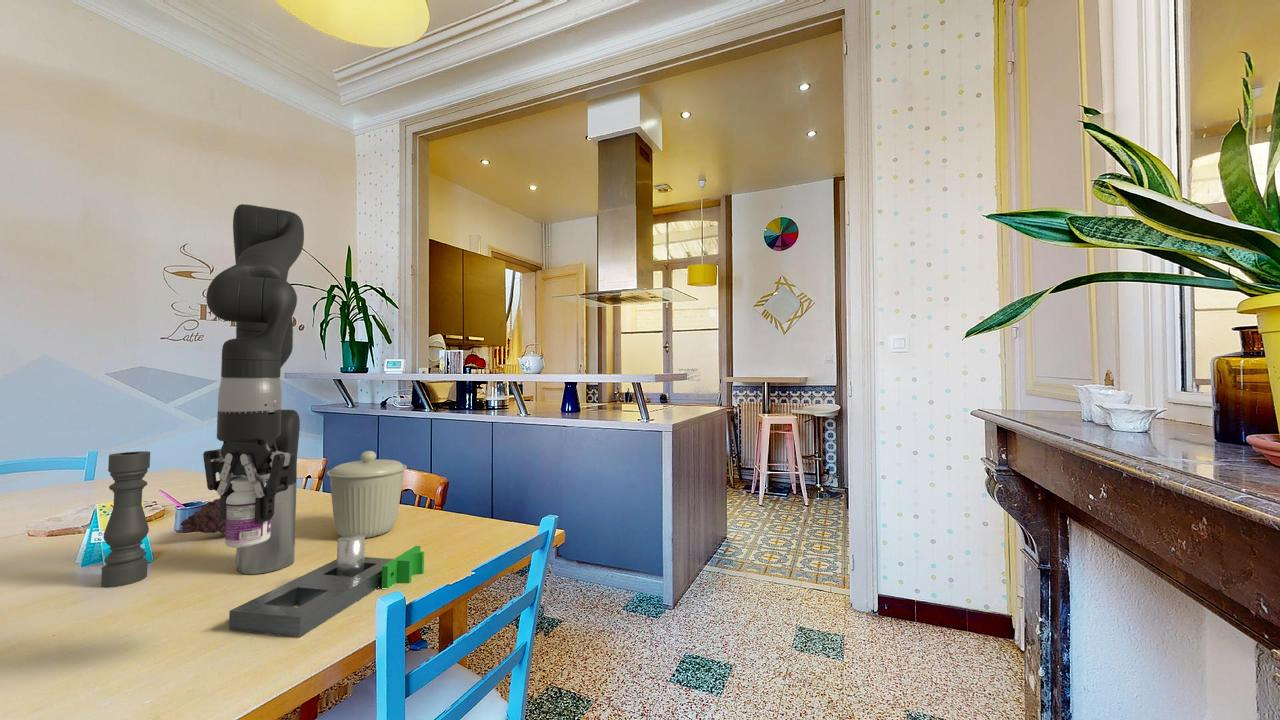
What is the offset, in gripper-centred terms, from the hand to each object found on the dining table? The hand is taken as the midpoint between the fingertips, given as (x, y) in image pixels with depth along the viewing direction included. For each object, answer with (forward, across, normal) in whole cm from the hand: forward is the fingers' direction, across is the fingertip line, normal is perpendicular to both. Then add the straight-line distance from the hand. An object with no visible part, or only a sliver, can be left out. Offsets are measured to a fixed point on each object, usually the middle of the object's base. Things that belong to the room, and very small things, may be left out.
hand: (246, 519), depth 72 cm
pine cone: (+20, -53, +42) cm, 70 cm away
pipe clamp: (+20, +8, +27) cm, 34 cm away
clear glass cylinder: (+19, -1, +22) cm, 29 cm away
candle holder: (+20, -46, +16) cm, 52 cm away
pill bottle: (+4, 0, 0) cm, 4 cm away
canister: (+20, -20, +50) cm, 57 cm away
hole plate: (+19, -1, +16) cm, 25 cm away
